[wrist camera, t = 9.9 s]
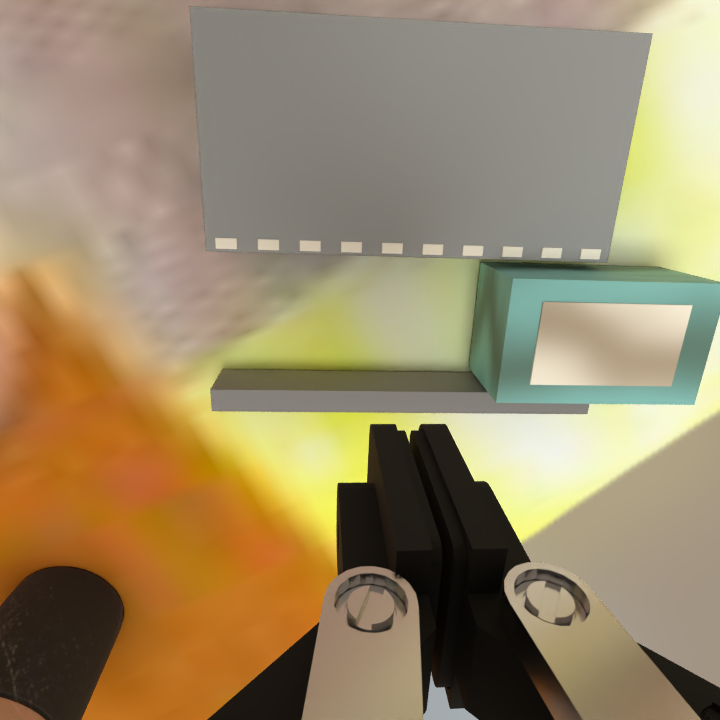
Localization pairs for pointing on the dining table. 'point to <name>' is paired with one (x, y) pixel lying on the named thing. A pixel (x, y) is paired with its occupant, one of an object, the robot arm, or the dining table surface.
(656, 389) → the teal rectangular box
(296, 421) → the dining table surface
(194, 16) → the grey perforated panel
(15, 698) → the travel mug
